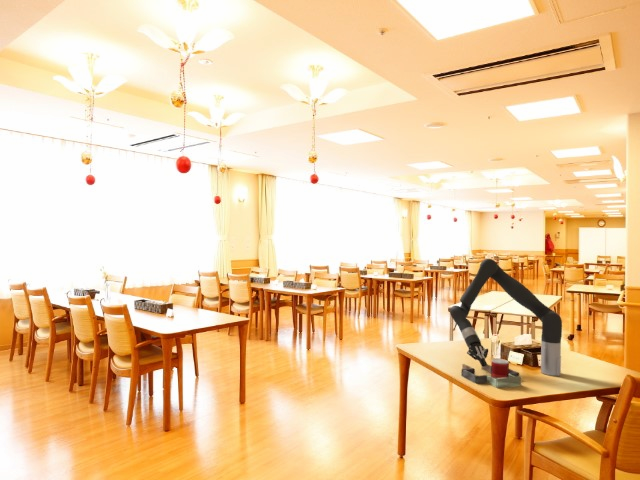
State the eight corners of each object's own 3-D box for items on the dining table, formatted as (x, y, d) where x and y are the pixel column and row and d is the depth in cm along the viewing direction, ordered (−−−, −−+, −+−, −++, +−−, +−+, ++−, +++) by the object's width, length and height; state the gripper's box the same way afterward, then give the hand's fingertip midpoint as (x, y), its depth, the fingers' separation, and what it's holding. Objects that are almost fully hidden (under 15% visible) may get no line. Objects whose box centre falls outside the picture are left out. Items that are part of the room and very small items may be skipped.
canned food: (510, 385, 207) (511, 363, 207) (494, 384, 208) (494, 362, 208) (505, 380, 215) (505, 358, 215) (489, 379, 215) (489, 358, 215)
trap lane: (452, 371, 228) (452, 363, 228) (492, 368, 235) (492, 359, 235) (487, 389, 201) (487, 380, 201) (530, 385, 208) (530, 375, 208)
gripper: (463, 334, 229) (477, 363, 217) (484, 333, 233) (499, 361, 221) (457, 341, 234) (470, 370, 222) (477, 340, 238) (492, 368, 226)
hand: (484, 366), depth 222 cm, fingers closed
